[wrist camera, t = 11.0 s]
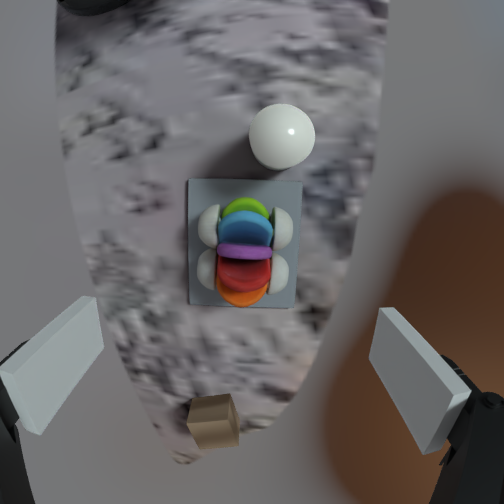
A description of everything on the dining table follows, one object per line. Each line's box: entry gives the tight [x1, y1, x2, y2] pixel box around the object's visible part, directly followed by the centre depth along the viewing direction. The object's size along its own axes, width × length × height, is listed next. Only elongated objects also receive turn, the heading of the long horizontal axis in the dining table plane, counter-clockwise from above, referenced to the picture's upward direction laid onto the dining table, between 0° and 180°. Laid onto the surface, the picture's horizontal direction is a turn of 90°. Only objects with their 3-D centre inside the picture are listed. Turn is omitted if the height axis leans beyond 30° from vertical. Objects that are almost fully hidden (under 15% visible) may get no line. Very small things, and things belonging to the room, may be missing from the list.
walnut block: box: [186, 394, 240, 449], centre depth 34 cm, size 5×5×5 cm
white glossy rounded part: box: [249, 104, 315, 170], centre depth 26 cm, size 5×5×7 cm
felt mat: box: [188, 178, 303, 308], centre depth 31 cm, size 13×11×1 cm
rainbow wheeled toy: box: [197, 197, 293, 308], centre depth 27 cm, size 8×10×7 cm
